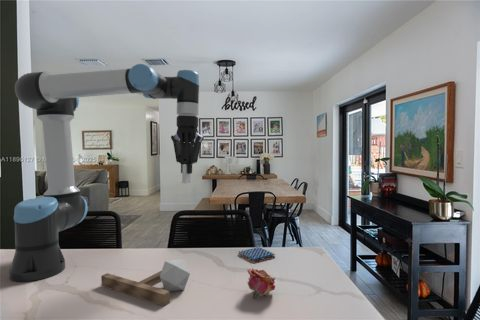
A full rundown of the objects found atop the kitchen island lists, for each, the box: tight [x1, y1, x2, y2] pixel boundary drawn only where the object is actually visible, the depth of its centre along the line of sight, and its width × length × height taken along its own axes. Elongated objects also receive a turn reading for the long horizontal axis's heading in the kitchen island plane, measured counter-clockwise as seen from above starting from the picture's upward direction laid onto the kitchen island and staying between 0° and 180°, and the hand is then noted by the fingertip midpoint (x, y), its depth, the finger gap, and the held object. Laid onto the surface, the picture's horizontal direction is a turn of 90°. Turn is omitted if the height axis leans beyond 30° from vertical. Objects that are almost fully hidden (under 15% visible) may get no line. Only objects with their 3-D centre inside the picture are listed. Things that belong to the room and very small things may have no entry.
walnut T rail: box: [101, 270, 171, 307], centre depth 90 cm, size 24×16×3 cm, turn 61°
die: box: [160, 258, 191, 292], centre depth 87 cm, size 8×9×10 cm
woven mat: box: [237, 246, 276, 264], centre depth 112 cm, size 10×11×2 cm
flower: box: [246, 267, 276, 299], centre depth 82 cm, size 9×9×7 cm
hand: (186, 182), depth 108 cm, fingers closed
